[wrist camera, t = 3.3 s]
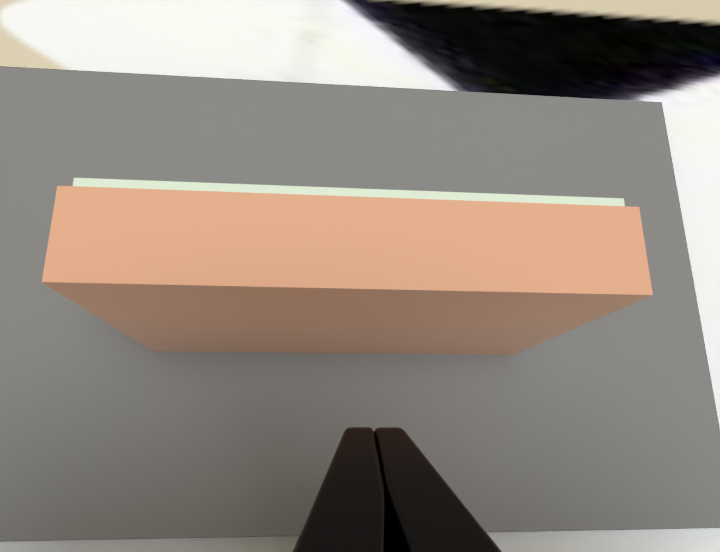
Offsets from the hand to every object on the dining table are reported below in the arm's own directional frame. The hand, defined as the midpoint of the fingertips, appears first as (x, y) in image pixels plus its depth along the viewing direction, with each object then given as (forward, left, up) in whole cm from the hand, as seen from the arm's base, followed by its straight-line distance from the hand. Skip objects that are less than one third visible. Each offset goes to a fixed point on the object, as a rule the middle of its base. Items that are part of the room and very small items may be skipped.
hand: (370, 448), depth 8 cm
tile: (+2, -3, -9) cm, 9 cm away
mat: (+3, -4, -9) cm, 10 cm away
